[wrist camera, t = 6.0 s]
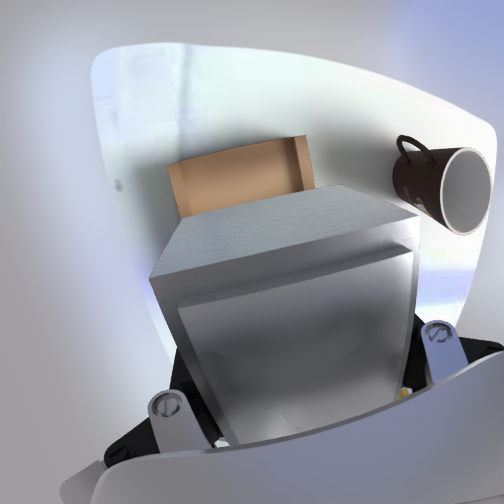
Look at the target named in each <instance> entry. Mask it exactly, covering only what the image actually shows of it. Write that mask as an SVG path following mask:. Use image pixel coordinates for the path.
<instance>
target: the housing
mask: <svg viewBox="0 0 504 504" xmlns="http://www.w3.org/2000/svg"><path fill="white" fill-rule="evenodd" d="M419 251H420V216H419V215H416V214H414V213H412V212H409V211H407V210H405V209H402V208H400V207H398V206H395V205H393V204H390V203H388V202H385V201H383V200H380V199H378V198H375V197H373V196H370V195H368V194H365V193H362V192H360V191H357V190H354V189H352V188H349V187H346V186H343V185H340V184H338V185H333V186H327V187H322V188H317V189H311V190H306V191H301V192H296V193H291V194H286V195H281V196H276V197H272V198H267V199H262V200H258V201H253V202H249V203H244V204H240V205H235V206H231V207H227V208H222V209H218V210H214V211H210V212H206V213H201V214H197V215H193V216H189V217H185V218H182V220H181V222H180V223H179V225H178V227H177V228H176V230H175V232H174V233H173V235H172V237H171V239H170V240H169V242H168V244H167V246H166V247H165V249H164V251H163V253H162V254H161V256H160V258H159V260H158V262H157V263H156V265H155V267H154V269H153V271H152V273H151V274H150V276H149V280H150V283H151V286H152V288H153V291H154V293H155V296H156V298H157V301H158V303H159V306H160V308H161V311H162V313H163V315H164V318H165V320H166V323H167V325H168V327H169V329H170V332H171V334H172V336H173V338H174V341H175V343H176V345H177V347H178V349H179V352H180V354H181V356H182V358H183V360H184V362H185V364H186V366H187V368H188V370H189V372H190V374H191V376H192V378H193V380H194V382H195V384H196V386H197V388H198V390H199V392H200V394H201V396H202V398H203V400H204V401H205V403H206V405H207V407H208V409H209V411H210V412H211V414H212V416H213V418H214V420H215V421H216V423H217V425H218V427H219V428H220V430H221V432H222V433H223V435H224V437H225V439H226V440H227V442H228V443H229V445H230V446H234V445H241V444H247V443H253V442H259V441H264V440H270V439H274V438H279V437H284V436H288V435H292V434H297V433H301V432H305V431H309V430H312V429H316V428H320V427H323V426H327V425H330V424H333V423H336V422H340V421H343V420H346V419H349V418H352V417H355V416H358V415H360V414H363V413H366V412H369V411H371V410H374V409H377V408H379V407H382V406H384V405H387V404H389V403H392V402H394V401H396V400H398V397H399V393H400V389H401V385H402V381H403V377H404V372H405V367H406V363H407V358H408V352H409V347H410V341H411V335H412V328H413V321H414V314H415V305H416V296H417V285H418V272H419Z"/></svg>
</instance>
